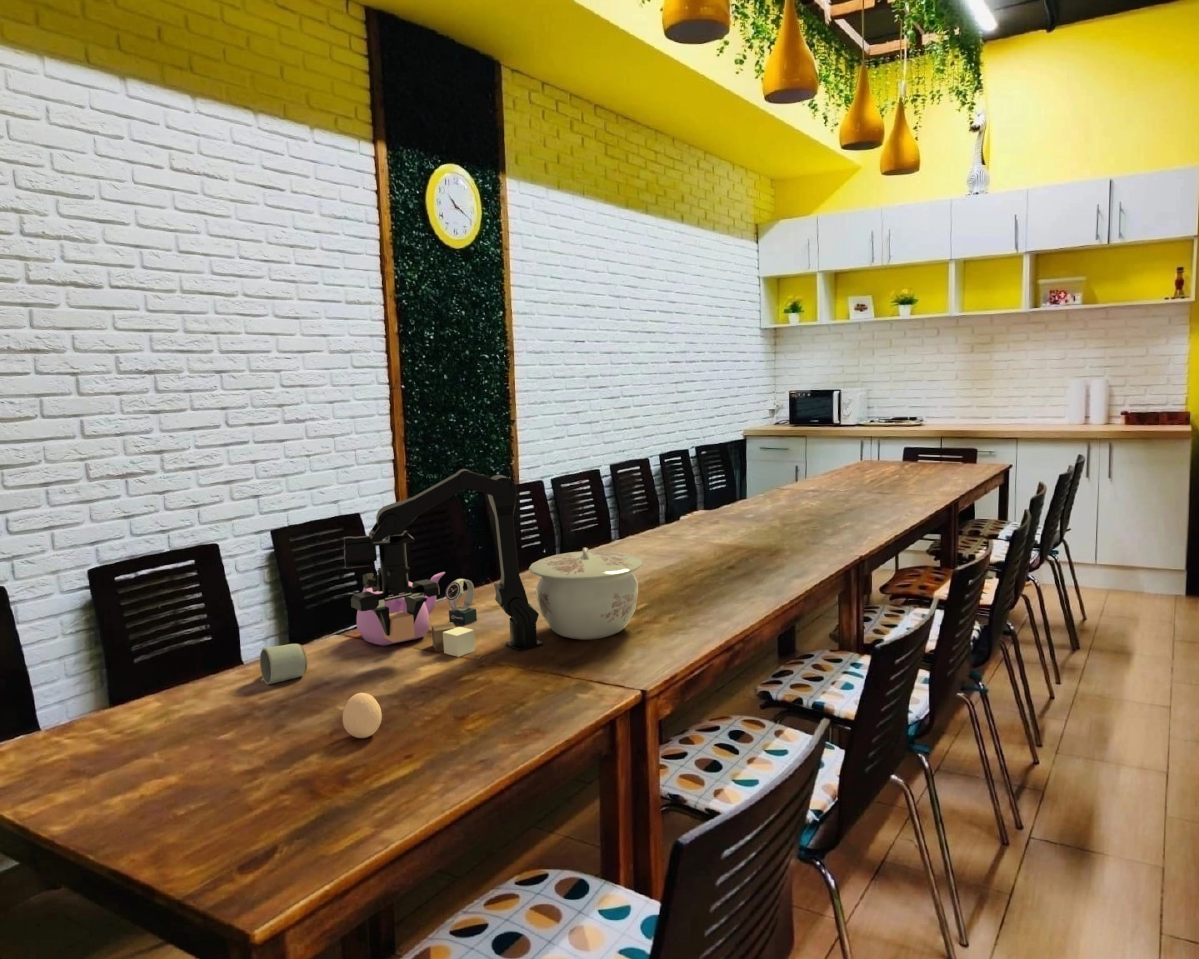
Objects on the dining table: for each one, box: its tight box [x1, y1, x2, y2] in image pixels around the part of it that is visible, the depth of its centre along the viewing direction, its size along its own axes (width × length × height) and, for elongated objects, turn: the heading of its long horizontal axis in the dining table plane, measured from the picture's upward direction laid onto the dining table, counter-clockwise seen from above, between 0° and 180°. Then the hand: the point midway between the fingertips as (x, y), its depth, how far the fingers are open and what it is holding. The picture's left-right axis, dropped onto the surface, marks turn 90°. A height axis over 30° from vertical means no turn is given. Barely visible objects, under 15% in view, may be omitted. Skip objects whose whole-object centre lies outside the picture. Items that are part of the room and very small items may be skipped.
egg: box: [342, 692, 383, 739], centre depth 152 cm, size 7×7×8 cm
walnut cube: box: [430, 622, 457, 652], centre depth 201 cm, size 5×5×5 cm
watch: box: [445, 578, 478, 626], centre depth 221 cm, size 6×8×11 cm
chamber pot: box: [528, 547, 644, 641], centre depth 207 cm, size 28×28×21 cm
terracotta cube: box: [383, 611, 415, 642], centre depth 190 cm, size 5×5×5 cm
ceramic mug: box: [259, 643, 308, 685], centre depth 185 cm, size 11×8×8 cm
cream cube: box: [443, 626, 476, 658], centre depth 197 cm, size 5×5×5 cm
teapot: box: [356, 571, 446, 647], centre depth 210 cm, size 23×21×15 cm
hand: (399, 632), depth 190 cm, fingers closed on terracotta cube, 5 cm apart
